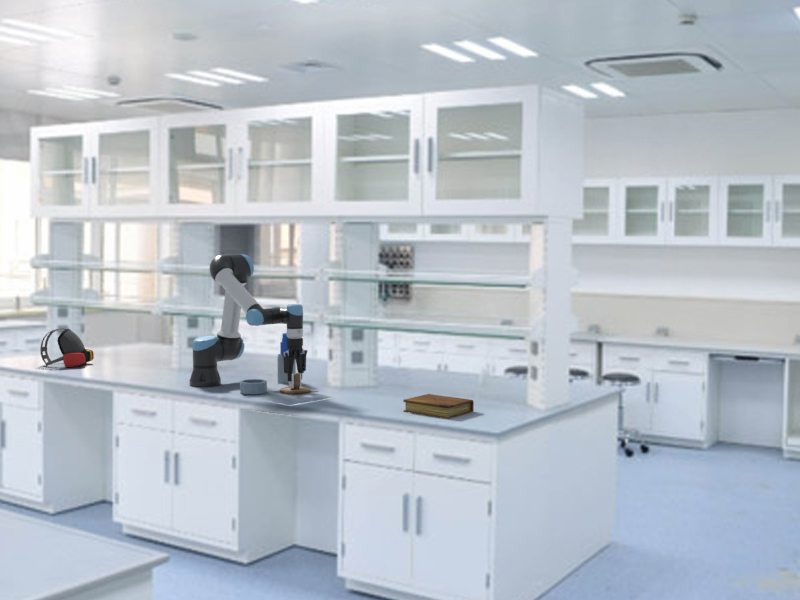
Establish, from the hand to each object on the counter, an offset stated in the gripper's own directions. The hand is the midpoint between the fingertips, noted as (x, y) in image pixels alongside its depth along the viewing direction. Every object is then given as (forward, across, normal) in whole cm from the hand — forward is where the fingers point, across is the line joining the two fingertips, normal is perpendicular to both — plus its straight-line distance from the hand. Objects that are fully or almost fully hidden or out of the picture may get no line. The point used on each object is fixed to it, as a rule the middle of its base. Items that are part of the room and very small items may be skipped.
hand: (295, 387), depth 425 cm
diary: (+3, +14, -76) cm, 77 cm away
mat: (+3, 0, 0) cm, 3 cm away
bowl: (+3, -15, +12) cm, 19 cm away
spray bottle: (+3, +15, +24) cm, 28 cm away
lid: (+2, 0, 0) cm, 2 cm away
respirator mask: (+3, -32, +158) cm, 161 cm away
